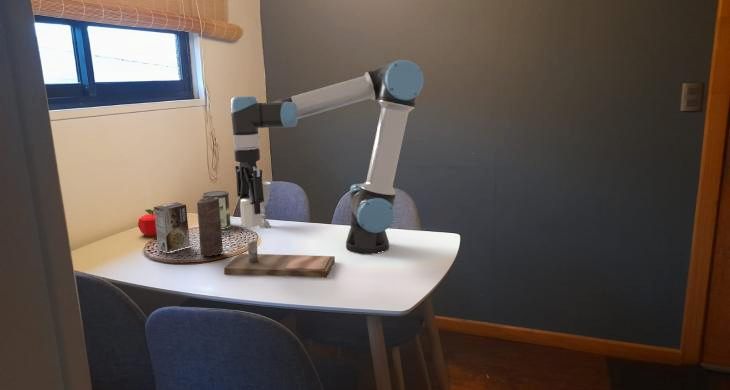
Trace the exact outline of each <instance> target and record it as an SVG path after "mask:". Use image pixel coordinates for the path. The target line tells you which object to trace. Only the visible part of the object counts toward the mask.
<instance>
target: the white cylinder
mask: <svg viewBox="0 0 730 390" xmlns="http://www.w3.org/2000/svg"><path fill="white" fill-rule="evenodd" d="M251 202H252V198H251V196H250V198H249V197H246V198H243V199H240V203H239V207H240V221H241V226H242V227H245V228H254V227H258V226H260V225H261V224H262V223H263V222H262V220H263V216H262V214H263V212H262V206H261V203H260V209H261V223H260V224H255V225H253V224H252V211H251V204H250V203H251Z"/></svg>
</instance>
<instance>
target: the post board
mask: <svg viewBox="0 0 730 390" xmlns="http://www.w3.org/2000/svg"><path fill="white" fill-rule="evenodd" d="M247 251H248V253H238V254H237V256H235V257H234V258H233V259H232V260H231V261H230V262H229V263H228V264H226V266H225V267H223V273H224V275H234V276H235V275H237V276H238V275H239V276H241V275H242V276H262V277H263V276H264V277H266V276H267V277H270V276H271V277H292V278H293V277H294V278H295V277H297V278H298V277H299V278H301V277H302V278H322V277H323V278H327V277H328V276H329V274H330V272H331V271H332V269H333V266H334V264H335V262H336V261H335V260H336V259H335V258H336V257H335V256H334V255H332V256H331V255H308V254H307V255H306V254H305V255H303V254H302V255H301V254H270V253H269V254H267V253H264V254H263V253H258V242H257V240H248V241H247Z"/></svg>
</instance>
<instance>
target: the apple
mask: <svg viewBox="0 0 730 390" xmlns="http://www.w3.org/2000/svg"><path fill="white" fill-rule="evenodd" d="M144 211H145V212H146V213H148V214H144V215H142V216H141V217H140V218H139V219H138V223H137V227H138V229H139V230H140V232H141V233H142V235H144V236H146V237H157V232H156V222H155V212H154V209H144Z"/></svg>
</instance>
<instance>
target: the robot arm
mask: <svg viewBox="0 0 730 390" xmlns="http://www.w3.org/2000/svg"><path fill="white" fill-rule="evenodd" d="M423 87H424V74H423V71H422V70H421V68H420V67H419V65H417V64H416V63H415V62H413V61H411V60H408V59H398V60H394V61H391V62H388V63H386V64H384V65H382V66H379V67H377V68H375V69H371V70H369V71H365V73H364V75H363V76H359V77H355V78H352V79H349V80H346V81H342V82H338V83H335V84H330V85H327V86H324V87H321V88H317V89H314V90H310V91H307V92H303V93H300V94H295V95H291V96H290V97H286V98H285V97H284V98H282V99H277V100H276V99H275V100H274V101H272V102H258V101H257V97H255V95H254V96H234V97H232V98H231V100H230V108H231V112H230V113H231V114H230V115H231V125H232V126H231V127H232V138H233V141H232V142H233V148H235V150H233V152H234V161H235V162H237V163H239V165H235V167H234V169H235V174H236V176H235V177H236V178H235V179H236V196H237V197H239V199H240V200H241V199H243V198H246V197H249V198H250V197H251V198H252V202H251V203H250V204H251V211H252V224H253V225H255V224H260V223H261V209H260V203H261V202H264V195H263V184H262V182H263V170H262V169H258V166H257V162H258V161H260V159H261V150H260V149H259V147H260V141H259V140H260V136H259V129H264V128H268V129H269V128H271V129H272V128H284V129H285V128H286V129H287V128H292V127H296V126H297V125H298V120H299V119H302V118H307V117H309V116H314V115H317V114H320V113H323V112H326V111H331V110H335V109H337V108H342V107H346V106H348V105H351V104H356V103H359V102H363V101H366V100H372V101H377V102H378V103H379V105H380V107H381V108H380V114H379V119H378V123H377V129H376V133H375V137H374V140H373V141H374V142H373V148H372V151H371V156H370V162H369V166H368V171H367V176H366V181H364V183H356V184H355V183H354V184H352V185H351V186H350V187H349V188H350V189H349V190H350V191H349V196H350V198H349V199H350V201H349V203H350V228H349V231H348V235H347V238H346V241H345V248H346V250H347V251H349V252H351V253H355V254H360V255H371V254H372V253H375V254H379V253H378V252H381V253H383V252H382V251H384V252H386V251H387V249H388V250H389V249H390V241H389V238H388V235H387V232H386V230H388V229H389V228H390V227H391V225H392V224H393V222H394V220H395V216H396V215H395V208H394V203H395V200H396V196H397V195H396V194H397V192H396V190H395V189H394V187H393V186H394V181H395V177H396V173H397V167H398V163H399V159H400V155H401V154H400V153H401V149H402V145H403V139H404V135H405V131H406V126H407V121H408V117H409V113H410V112H411V111H413V110H415V107H416V103H417V99H418V98H417V97H418V96H419V94H421V91H422V89H423ZM385 250H386V251H385ZM372 255H373V254H372Z"/></svg>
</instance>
